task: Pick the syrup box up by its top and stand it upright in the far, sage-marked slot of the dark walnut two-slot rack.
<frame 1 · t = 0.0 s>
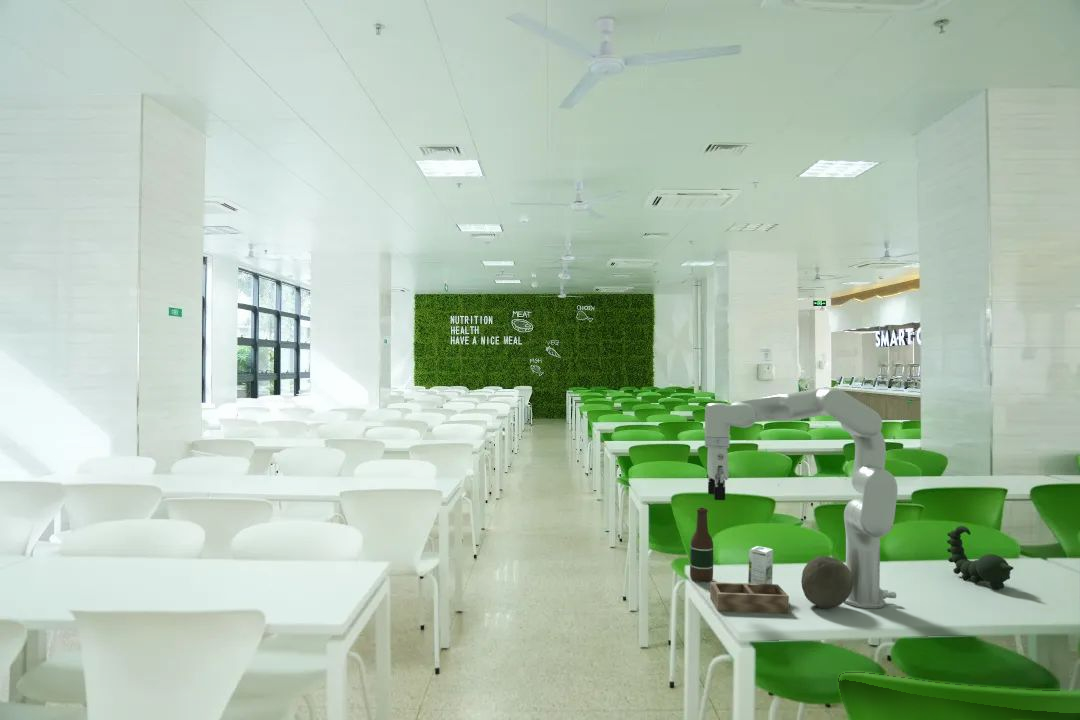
hand: (716, 497, 212), 31 cm above the table, tool pointing down, fingers open, 9 cm apart
slot rack: (748, 605, 204), on the table
toy figurine: (980, 583, 231), on the table
syrup box: (760, 595, 215), on the table
beer bottle: (701, 579, 230), on the table
cantaloupe: (826, 608, 204), on the table
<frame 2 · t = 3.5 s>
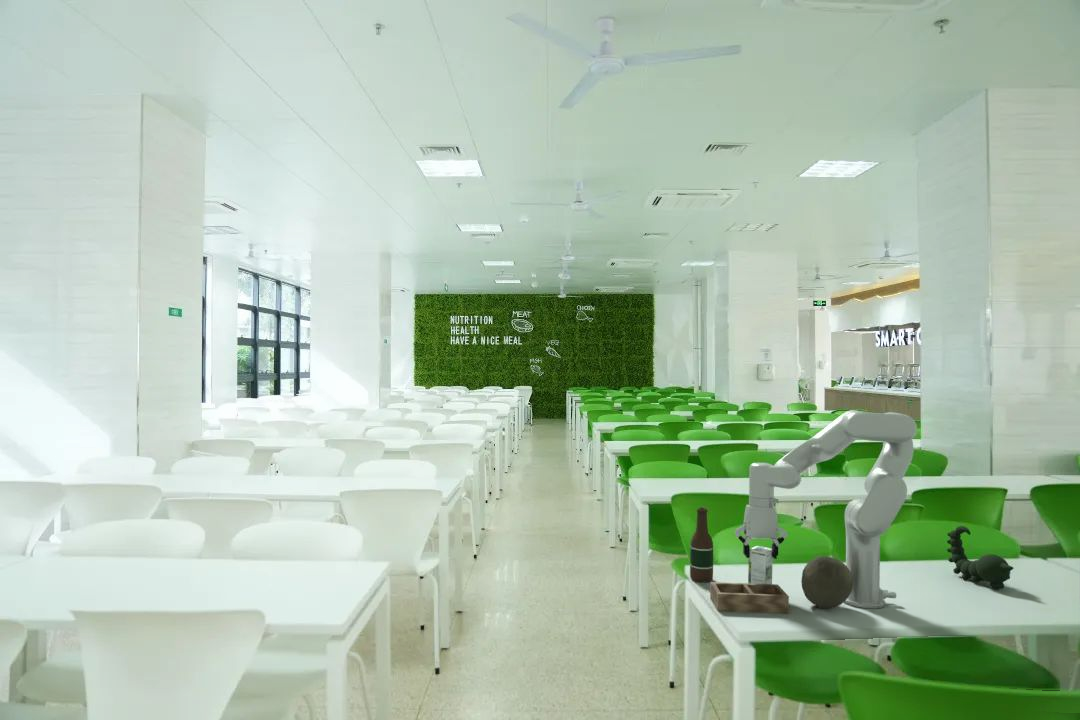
hand: (760, 557, 215), 12 cm above the table, tool pointing down, fingers closed on syrup box, 8 cm apart
syrup box: (760, 594, 215), on the table, touching gripper
everything else where it was.
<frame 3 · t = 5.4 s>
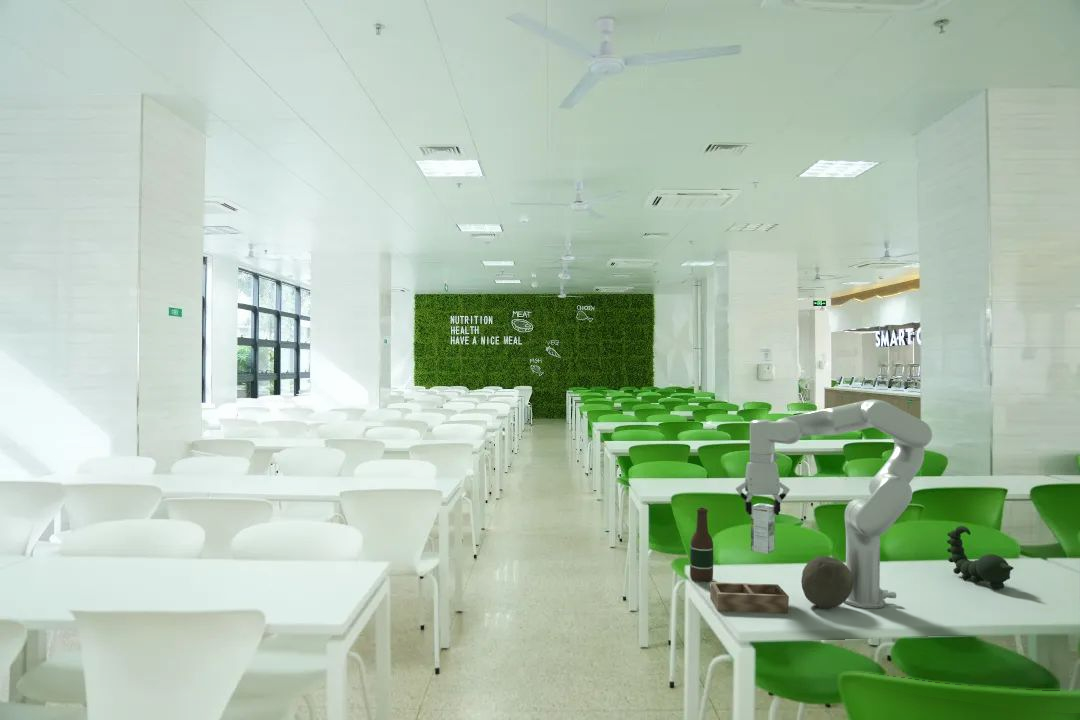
hand: (762, 513, 215), 26 cm above the table, tool pointing down, fingers closed on syrup box, 7 cm apart
syrup box: (763, 551, 215), point 14 cm above the table, touching gripper
everything else where it was.
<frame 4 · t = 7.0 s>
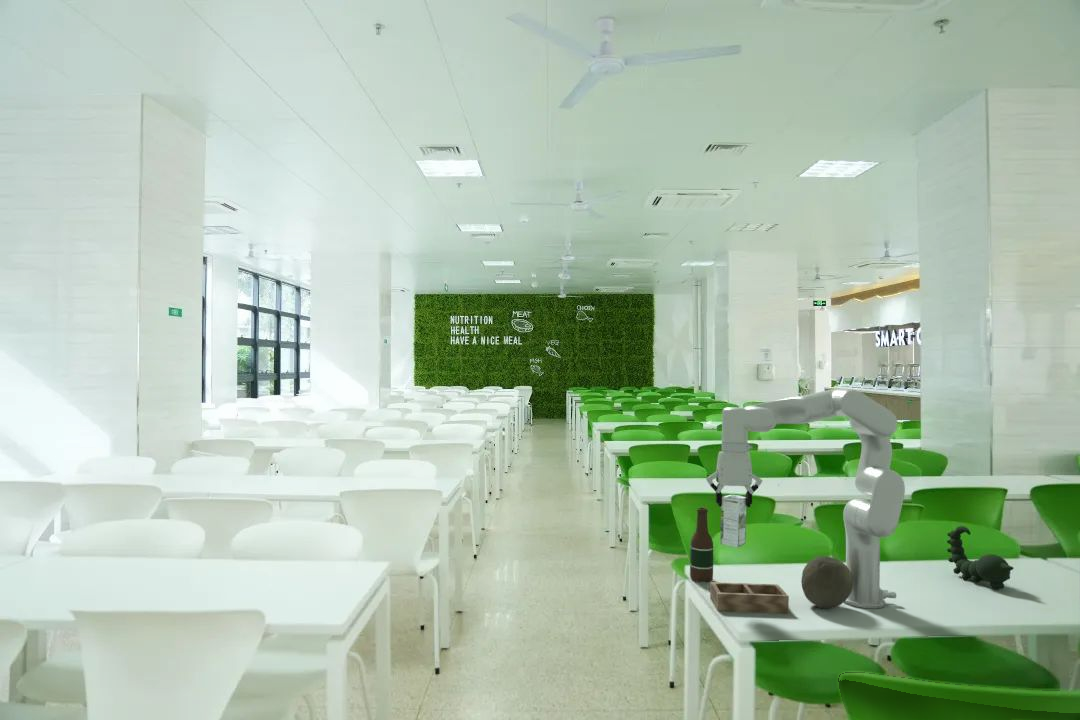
hand: (733, 505, 205), 30 cm above the table, tool pointing down, fingers closed on syrup box, 7 cm apart
syrup box: (733, 545, 205), point 18 cm above the table, touching gripper
everything else where it was.
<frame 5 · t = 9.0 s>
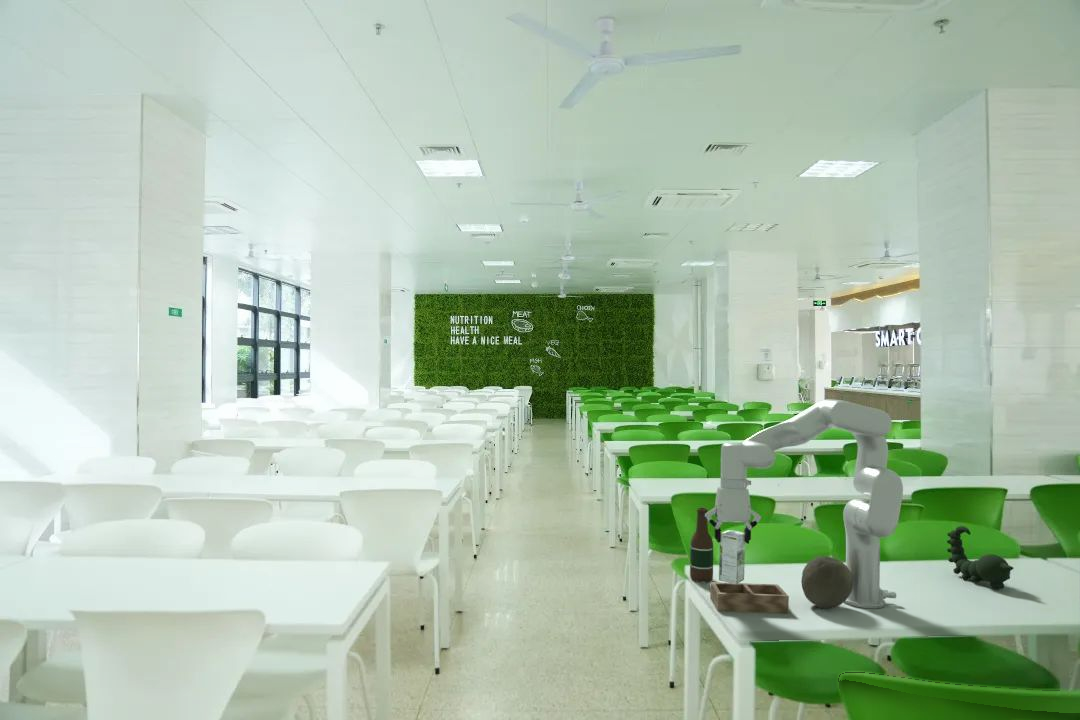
hand: (732, 541, 205), 19 cm above the table, tool pointing down, fingers closed on syrup box, 7 cm apart
syrup box: (731, 581, 205), point 7 cm above the table, touching gripper
everything else where it was.
when the fingers open (13 cm above the table, at t = 10.8 s): syrup box drops 1 cm, resting on slot rack.
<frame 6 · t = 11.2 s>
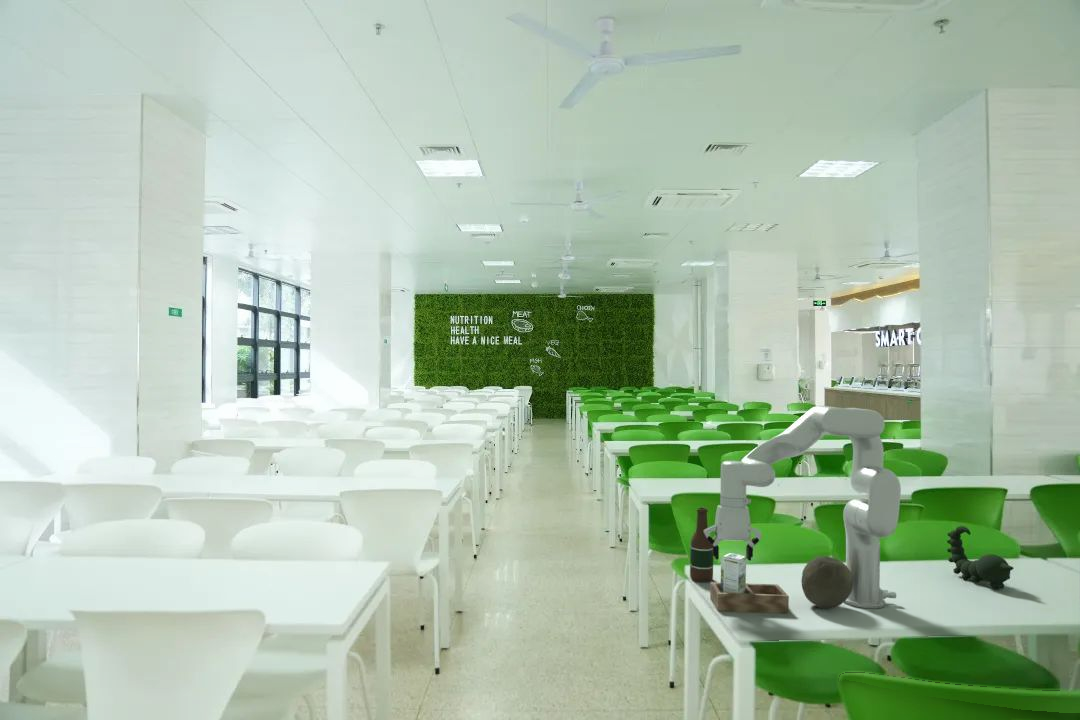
hand: (732, 558, 205), 14 cm above the table, tool pointing down, fingers open, 9 cm apart
syrup box: (732, 604, 205), resting on slot rack
everything else where it was.
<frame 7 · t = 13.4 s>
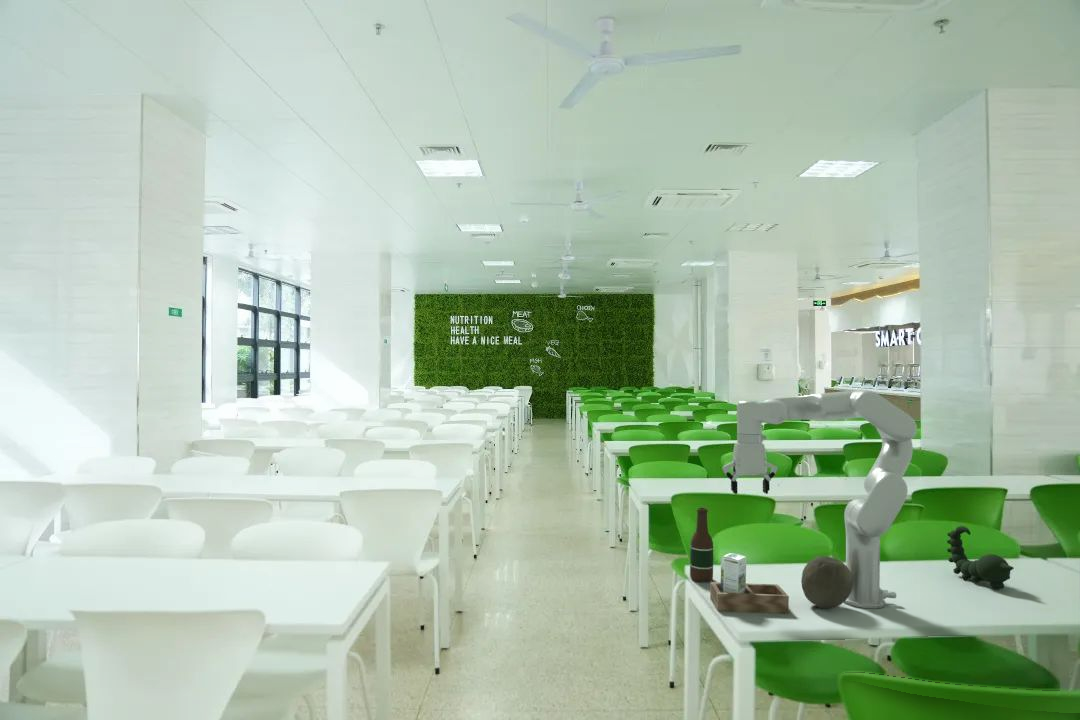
hand: (750, 493, 215), 32 cm above the table, tool pointing down, fingers open, 9 cm apart
nothing on the table moved.
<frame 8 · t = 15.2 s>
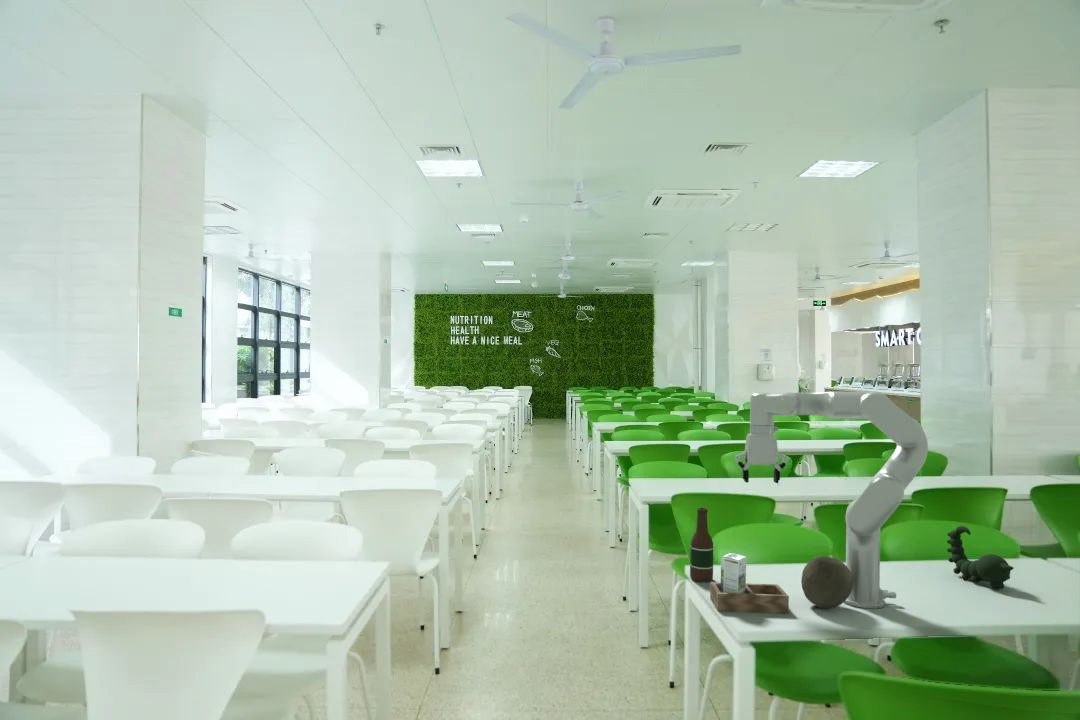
hand: (761, 482, 223), 34 cm above the table, tool pointing down, fingers open, 9 cm apart
nothing on the table moved.
at the end: syrup box 0.4 cm from the target spot on the slot rack, point 0.1 cm above the slot rack's base; syrup box tilted 0°; the gripper is holding nothing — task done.
